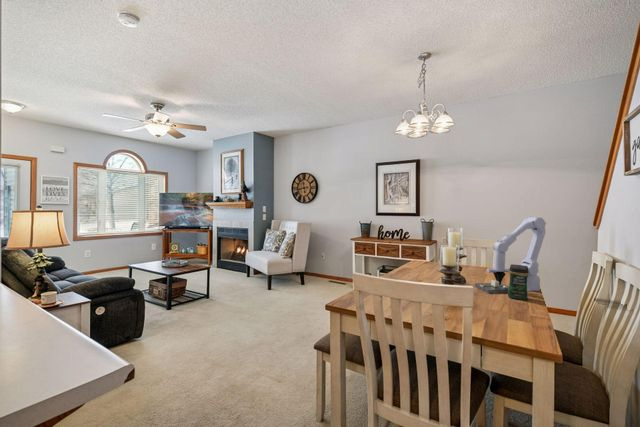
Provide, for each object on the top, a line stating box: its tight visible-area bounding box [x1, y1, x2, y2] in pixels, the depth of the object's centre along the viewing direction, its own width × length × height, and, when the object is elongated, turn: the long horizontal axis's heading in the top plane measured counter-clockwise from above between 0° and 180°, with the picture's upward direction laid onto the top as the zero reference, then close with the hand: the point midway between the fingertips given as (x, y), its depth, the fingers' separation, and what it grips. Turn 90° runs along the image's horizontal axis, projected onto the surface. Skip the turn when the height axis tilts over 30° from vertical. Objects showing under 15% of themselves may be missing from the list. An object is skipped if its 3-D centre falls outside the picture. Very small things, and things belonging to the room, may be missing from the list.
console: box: [474, 282, 509, 294], centre depth 203 cm, size 16×14×3 cm
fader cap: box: [490, 279, 499, 287], centre depth 203 cm, size 2×4×3 cm, turn 5°
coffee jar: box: [507, 264, 529, 300], centre depth 187 cm, size 10×8×19 cm
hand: (498, 284), depth 203 cm, fingers closed
